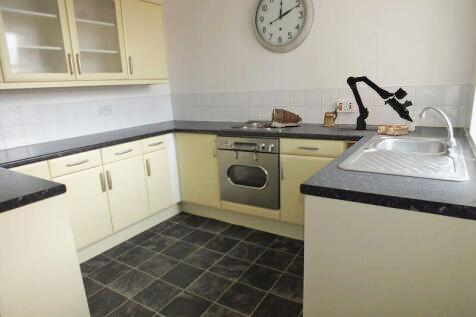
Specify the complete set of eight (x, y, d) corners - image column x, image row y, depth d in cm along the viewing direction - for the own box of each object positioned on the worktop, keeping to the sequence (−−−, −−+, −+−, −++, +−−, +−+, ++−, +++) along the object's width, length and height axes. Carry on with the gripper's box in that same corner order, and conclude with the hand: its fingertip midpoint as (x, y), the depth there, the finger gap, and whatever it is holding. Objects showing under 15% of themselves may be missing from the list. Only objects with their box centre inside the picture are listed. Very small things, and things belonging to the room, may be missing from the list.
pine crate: (377, 133, 215) (378, 126, 213) (390, 131, 221) (390, 125, 220) (395, 136, 203) (395, 129, 202) (408, 133, 210) (408, 127, 208)
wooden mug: (341, 127, 248) (342, 103, 244) (323, 127, 250) (323, 104, 246) (339, 125, 257) (340, 102, 252) (322, 125, 259) (322, 103, 255)
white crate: (404, 131, 220) (405, 118, 218) (403, 129, 226) (404, 117, 224) (414, 131, 218) (415, 118, 216) (413, 130, 223) (414, 117, 221)
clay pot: (306, 112, 252) (275, 107, 251) (303, 131, 254) (272, 126, 253) (301, 112, 267) (272, 108, 266) (298, 131, 269) (269, 126, 267)
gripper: (406, 97, 210) (424, 114, 208) (404, 95, 226) (420, 111, 225) (392, 109, 215) (409, 126, 213) (391, 107, 231) (407, 122, 230)
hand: (412, 121), depth 220 cm, fingers closed on white crate, 6 cm apart
